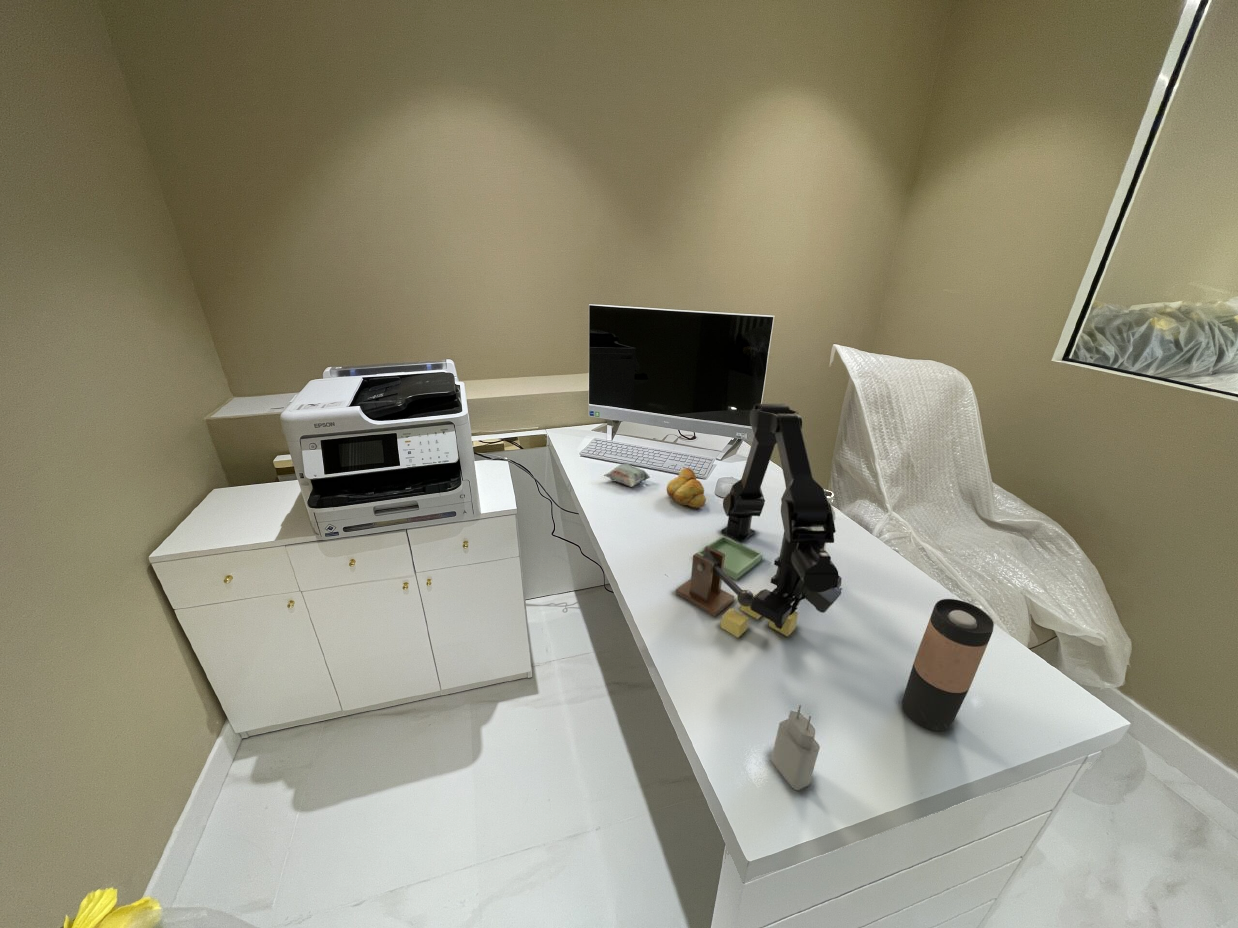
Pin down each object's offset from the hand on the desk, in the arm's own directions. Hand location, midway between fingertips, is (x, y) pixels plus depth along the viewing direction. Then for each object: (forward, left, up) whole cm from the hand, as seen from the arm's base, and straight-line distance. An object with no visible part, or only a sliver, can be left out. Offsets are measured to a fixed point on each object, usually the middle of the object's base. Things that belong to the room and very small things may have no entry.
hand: (782, 623), depth 98 cm
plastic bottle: (-22, -5, -1) cm, 23 cm away
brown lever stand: (+4, -16, -1) cm, 16 cm away
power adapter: (+26, +15, -1) cm, 30 cm away
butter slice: (0, 0, -1) cm, 1 cm away
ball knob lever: (+4, -12, +5) cm, 13 cm away
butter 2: (0, -7, -1) cm, 7 cm away
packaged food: (-24, -65, -1) cm, 69 cm away
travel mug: (+1, +26, -1) cm, 26 cm away
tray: (-12, -20, -1) cm, 23 cm away
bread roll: (-28, -45, -1) cm, 53 cm away
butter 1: (+7, -7, -1) cm, 10 cm away
